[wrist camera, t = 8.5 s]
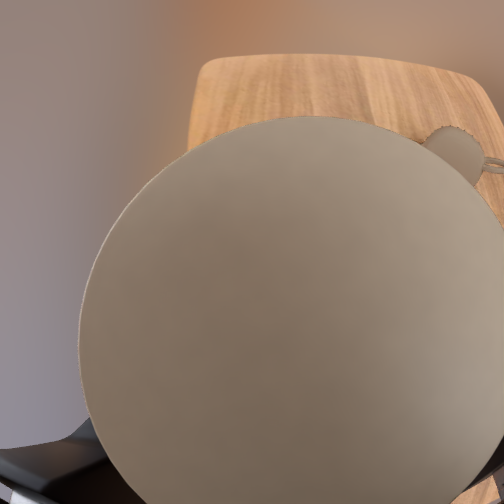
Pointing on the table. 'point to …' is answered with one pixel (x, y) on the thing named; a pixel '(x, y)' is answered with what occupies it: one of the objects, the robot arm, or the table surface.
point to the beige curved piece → (461, 153)
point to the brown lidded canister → (298, 323)
